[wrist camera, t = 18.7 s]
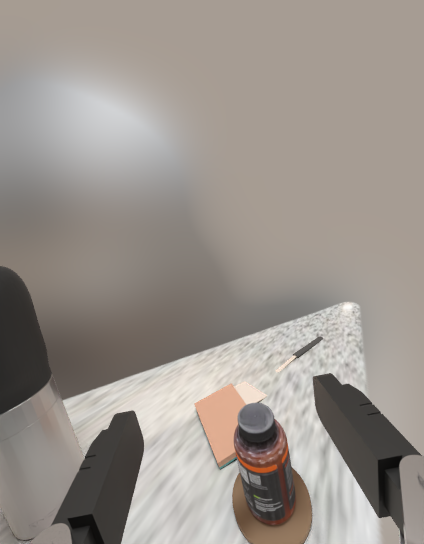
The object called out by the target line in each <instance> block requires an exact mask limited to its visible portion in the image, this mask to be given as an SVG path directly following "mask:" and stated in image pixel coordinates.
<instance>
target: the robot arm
mask: <svg viewBox="0 0 424 544" xmlns="http://www.w3.org/2000/svg"><path fill="white" fill-rule="evenodd" d="M313 386H314V397H315V406H316V410H317V413H318V416H319V418H320V420H321V422H322V424H323V426H324V427H325V429H326V431H327V432H328V434H329V436H330V437H331V439H332V441H333V442H334V444H335V446H336V447H337V449H338V451H339V452H340V454H341V456H342V457H343V459H344V461H345V462H346V464H347V466H348V467H349V469H350V471H351V472H352V474H353V476H354V477H355V479H356V481H357V482H358V484H359V486H360V487H361V489H362V491H363V492H364V494H365V496H366V497H367V499H368V501H369V502H370V504H371V506H372V507H373V509H374V511H375V512H376V514H377V516H378V517H379V518H382V517H388V516H391V517H392V519H393V520H394V522H395V523H396V525H397V527H398V528H399V540H400V544H424V456H422V455H421V454H420V453H419V452H418V451H417V450H416V449H415V448H414V447H413V446H412V445H411V444H410V443H409V442H408V441H407V440H406V439H405V438H404V436H403V435H402V434H401V433H400V432H399V431H398V430H397V429H396V428H395V427H394V426H393V425H392V424H391V423H390V422H389V420H388V419H387V418H386V417H385V416H384V415H383V414H381V413H380V411H379V410H378V409H377V408H376V407H375V406H374V405H372V402H371V401H370V400H369V399H368V398H367V397H366V396H365V395H364V394H363V393H362V392H361V391H359V390H358V389H356V388H354V387H353V386H351V385H350V384H344V385H342V384H341V383H340V382H339V381H338V380H337V379H336V377H335V376H334V375H333V374H331V373H329V374H324V375H319V376H314V377H313ZM143 452H144V440H143V436H142V433H141V429H140V426H139V423H138V420H137V417H136V414H135V412H134V411H128V412H123V413H117V414H115V415H114V417H113V419H112V421H111V423H110V425H109V428H108V429H106V430H102V432H101V433H100V434H99V435H98V436H97V437H96V439H95V440H94V441H93V442H92V444H91V446H90V448H89V450H88V452H87V454H86V456H85V459H84V457H83V454H82V451H81V448H80V446H79V443H78V441H77V438H76V435H75V433H74V430H73V427H72V425H71V422H70V420H69V417H68V414H67V412H66V409H65V406H64V404H63V401H62V399H61V396H60V394H59V391H58V389H57V386H56V383H55V381H54V378H53V376H52V372H51V369H50V367H49V363H48V356H47V349H46V345H45V342H44V339H43V336H42V333H41V330H40V326H39V323H38V320H37V316H36V313H35V309H34V306H33V302H32V299H31V296H30V294H29V292H28V289H27V287H26V286H25V284H24V282H23V281H22V279H21V278H20V277H19V276H18V275H17V274H16V273H15V272H14V271H12V270H11V269H9V268H6V267H2V266H0V508H1V510H2V512H3V514H4V516H5V518H6V520H7V522H8V525H9V527H10V529H11V531H12V533H13V534H14V536H15V537H16V538H18V539H21V540H29V539H32V538H34V539H33V540H32V541H31V542H30V543H29V544H121V541H122V537H123V533H124V529H125V525H126V521H127V517H128V513H129V509H130V505H131V501H132V497H133V493H134V489H135V485H136V481H137V477H138V473H139V469H140V465H141V461H142V457H143Z"/></svg>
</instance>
